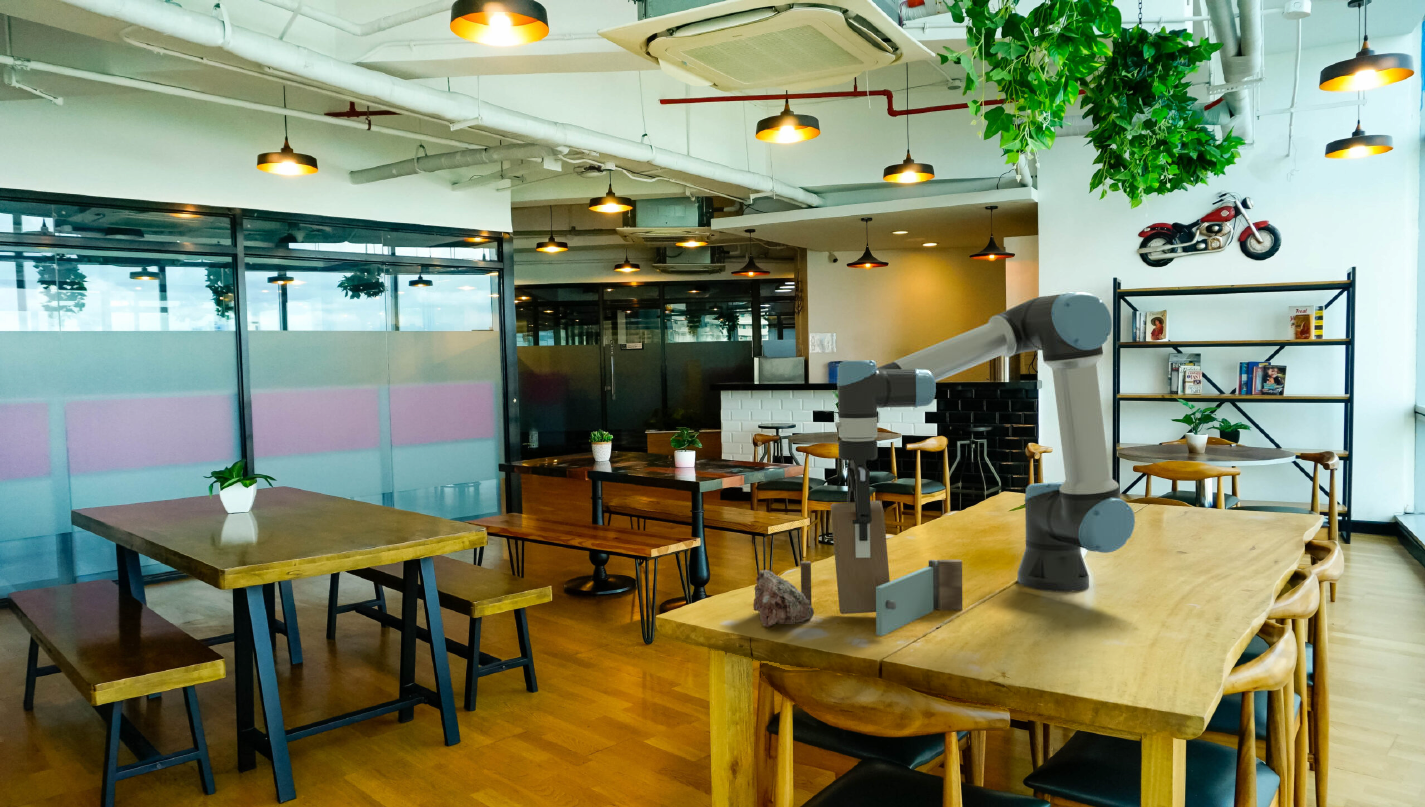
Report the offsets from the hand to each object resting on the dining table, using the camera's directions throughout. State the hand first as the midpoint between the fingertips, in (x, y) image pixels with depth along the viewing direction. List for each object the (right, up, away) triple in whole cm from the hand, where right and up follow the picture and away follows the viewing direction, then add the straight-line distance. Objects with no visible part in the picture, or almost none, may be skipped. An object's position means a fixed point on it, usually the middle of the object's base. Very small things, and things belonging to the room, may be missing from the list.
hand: (859, 551), depth 176 cm
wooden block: (+1, -11, +1) cm, 11 cm away
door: (+9, -14, -2) cm, 17 cm away
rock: (-15, -14, +1) cm, 21 cm away
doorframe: (+6, -13, +8) cm, 17 cm away
